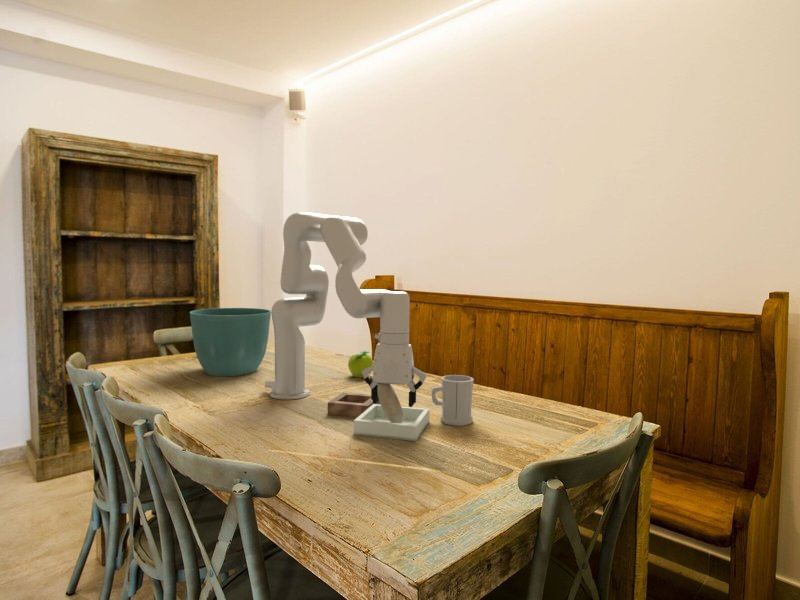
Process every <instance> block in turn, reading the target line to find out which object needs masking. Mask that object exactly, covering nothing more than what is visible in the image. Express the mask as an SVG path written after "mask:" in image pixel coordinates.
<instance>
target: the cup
mask: <svg viewBox="0 0 800 600" xmlns="http://www.w3.org/2000/svg"><path fill="white" fill-rule="evenodd" d="M474 380H475V379H474V378H473V377H471V376H469V375H463V374H462V375H461V374H460V375H459V374H450V375H449V374H448V375H444V376H442V377H440V381H441V385H438V386H434V387H432V389H431V401H432V403H433V404H434V405H435V406H441V408H442V410H441V414H440V421H441V423H442V424H446V425H447V426H456V427H462V426H463V427H464V426H468V425H470V424H472V423H473V421H474V417H473V415H472V405H473V404H472V403H473V400H472V399H473V389H474V382H475V381H474ZM438 392H441V399H442V400H439V399H438V397H437V395H436V394H437V393H438Z"/></svg>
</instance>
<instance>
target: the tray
mask: <svg viewBox="0 0 800 600" xmlns="http://www.w3.org/2000/svg"><path fill="white" fill-rule="evenodd" d="M401 407H402V411H403V421H402V423H391V422H390V421H389V419H388V418H387V416H386V415H385V413H384V411H383V409H382V407H381V405H379V404H373V405H372V406H371V407H369V408H368V409H367V410H366V411H365V412H363V413H362V414H361V415H360V416H358V417H355V419H354V420H353V435H355V436H362V437H364V436H365V437H373V438H382V439H393V440H402V441H411V442H417V441H418V439H419V438H420V436H421V435H422V434H423V432H424V430H425V429H426V427H427V426H428V425H429V423H430V408H423V407H413V406H412V407H409V406H402V405H401Z"/></svg>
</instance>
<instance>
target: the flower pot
mask: <svg viewBox="0 0 800 600" xmlns="http://www.w3.org/2000/svg"><path fill="white" fill-rule="evenodd" d="M271 311H272V310H270V309H266V308H265V309H264V308H251V307H250V308H249V307H219V308H218V307H217V308H202V309H195V310H192V311H189V318H190V319H189V320H190V324H191V325H190V326H191V334H192V340H193V341H192V342H193V346H194V351H195V355H196V358H197V359H198V362H199V364H200V366H201V368H202V369H203V370H204V371H205V373H206V374H207V375H210V376H213V377H214V376H217V377H237V375H238V376H244V374H245V375H248V374H253V373H255V372H256V371H257V370H258V369H259V367H260V365H261V364H262V362H263V361H264V358H265V355H266V352H267V347H268V342H269V341H268V340H269V334H270V333H269V332H270V323H271V317H272V313H271ZM254 371H255V372H254ZM252 372H253V373H252Z"/></svg>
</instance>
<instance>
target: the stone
mask: <svg viewBox="0 0 800 600" xmlns="http://www.w3.org/2000/svg"><path fill="white" fill-rule="evenodd" d="M377 395H378V399H379V402H380V404H381V407H382V409H383V411H384V413H385V415H386V416H387V418H388V419H389V421H390V422H391V423H402V421H403V411H402V407H403V406H402V405H401V403H400V399H399V398H398V396H397V393H396V392H395V389H394V387H393V386H392V384H385V383H378V386H377ZM401 406H402V407H401Z"/></svg>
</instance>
